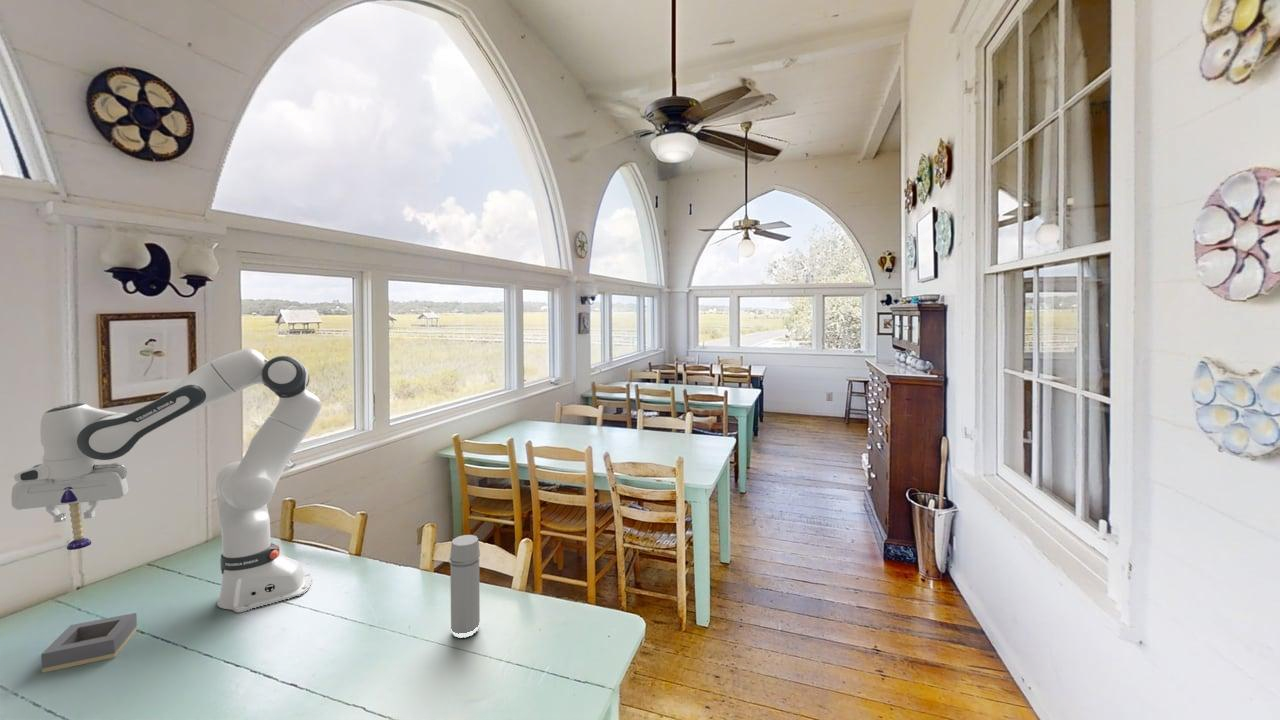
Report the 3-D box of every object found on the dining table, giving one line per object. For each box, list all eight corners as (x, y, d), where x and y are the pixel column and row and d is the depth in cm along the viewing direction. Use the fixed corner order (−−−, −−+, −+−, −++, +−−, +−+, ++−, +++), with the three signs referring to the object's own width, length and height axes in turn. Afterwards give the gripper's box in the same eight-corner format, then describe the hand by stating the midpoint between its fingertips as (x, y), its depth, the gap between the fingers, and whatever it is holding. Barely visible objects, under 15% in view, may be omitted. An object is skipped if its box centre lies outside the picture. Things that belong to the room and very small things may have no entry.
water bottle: (486, 630, 131) (486, 539, 129) (459, 645, 125) (458, 549, 123) (467, 616, 137) (466, 529, 135) (440, 630, 131) (439, 538, 129)
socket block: (137, 629, 128) (136, 612, 128) (114, 657, 118) (113, 639, 118) (71, 642, 123) (70, 625, 123) (42, 672, 112) (41, 654, 112)
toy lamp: (71, 551, 125) (66, 488, 124) (58, 549, 126) (52, 486, 125) (95, 543, 130) (91, 482, 129) (82, 541, 131) (77, 480, 130)
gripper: (131, 459, 134) (134, 508, 135) (21, 468, 125) (26, 521, 126) (119, 465, 128) (124, 516, 129) (4, 476, 119) (9, 531, 120)
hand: (75, 519), depth 128 cm, fingers closed on toy lamp, 4 cm apart
